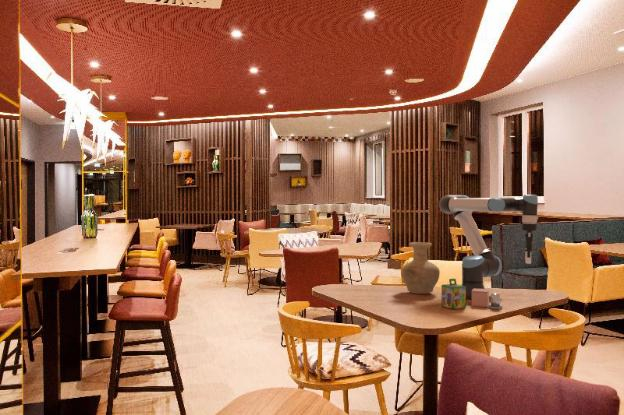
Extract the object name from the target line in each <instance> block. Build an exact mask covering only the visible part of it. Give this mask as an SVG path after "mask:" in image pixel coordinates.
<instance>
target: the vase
mask: <svg viewBox="0 0 624 415" xmlns="http://www.w3.org/2000/svg"><path fill="white" fill-rule="evenodd" d="M408 244H409V246H410V247H411V248H412V250H413V257H412V258H413V259H412V260H411V261H409V262H407V263H405V264H403V266H402V267H401V270H400V272H401V273H400V274H401V278H402V279H401V280H402V281H403V283H404V284H405V286H406V289H407V291H408V292H409V293H412V294H416V295H427V294H431V293H433V291H434V287H435V286H436V285H437V283H438V281H439V280H440V273H441V272H440V268H439V267H438V266H437V265H436V264H435V263H432V262H430V261H429V260H428V249H429V248H430V247H432V245H433V244H432V243H431V242H424V241H423V242H422V241H421V242H420V241H416V242H415V241H413V242H409V243H408Z"/></svg>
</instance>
